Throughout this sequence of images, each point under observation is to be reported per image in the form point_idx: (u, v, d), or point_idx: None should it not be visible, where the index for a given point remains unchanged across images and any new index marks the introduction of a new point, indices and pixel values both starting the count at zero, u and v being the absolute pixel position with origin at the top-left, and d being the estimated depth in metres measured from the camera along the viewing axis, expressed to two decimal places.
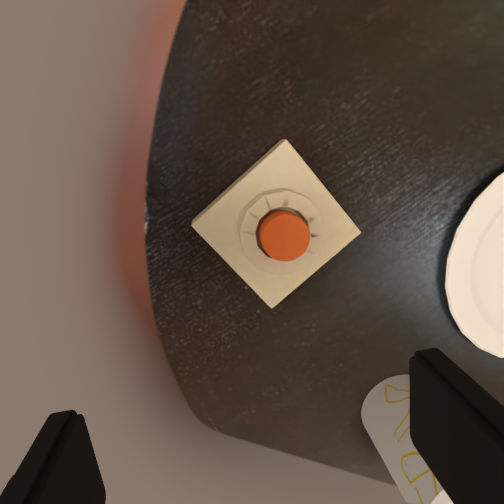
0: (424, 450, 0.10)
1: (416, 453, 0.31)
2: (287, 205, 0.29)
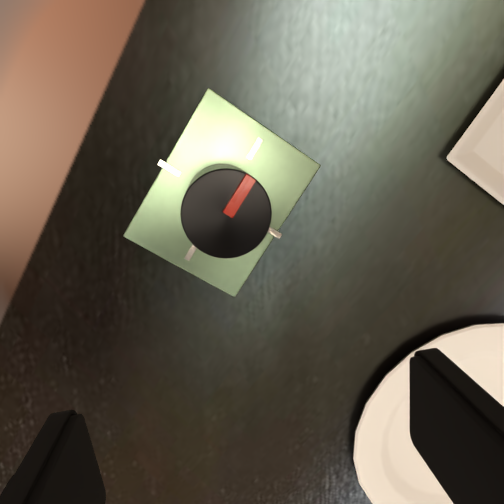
0: (424, 450, 0.10)
1: None
2: None
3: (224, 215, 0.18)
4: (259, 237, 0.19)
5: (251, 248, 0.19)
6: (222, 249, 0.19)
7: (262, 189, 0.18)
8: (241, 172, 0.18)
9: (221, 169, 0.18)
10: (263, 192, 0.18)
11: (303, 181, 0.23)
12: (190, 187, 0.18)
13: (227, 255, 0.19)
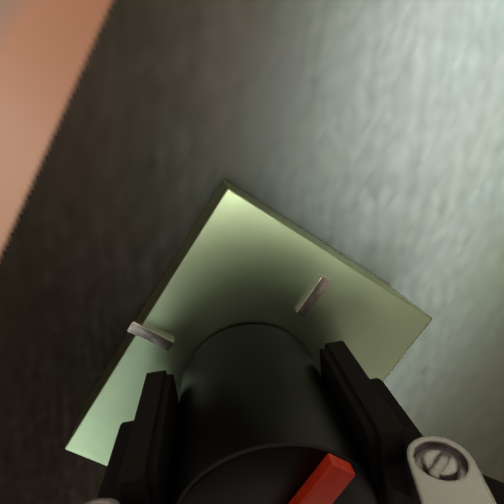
0: None
1: None
2: None
3: None
4: None
5: None
6: None
7: (364, 480, 0.07)
8: (317, 449, 0.07)
9: (268, 445, 0.07)
10: (366, 485, 0.08)
11: (398, 346, 0.13)
12: (189, 488, 0.07)
13: None
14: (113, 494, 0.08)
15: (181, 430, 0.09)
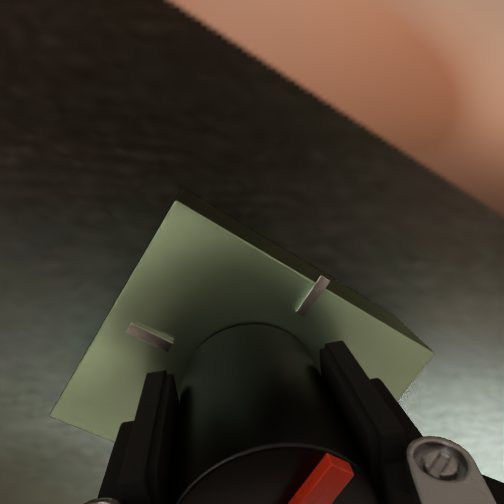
0: None
1: None
2: None
3: None
4: None
5: None
6: None
7: (363, 479, 0.07)
8: (315, 450, 0.07)
9: (266, 446, 0.07)
10: (365, 484, 0.07)
11: None
12: (188, 490, 0.07)
13: None
14: (113, 494, 0.08)
15: (180, 432, 0.09)
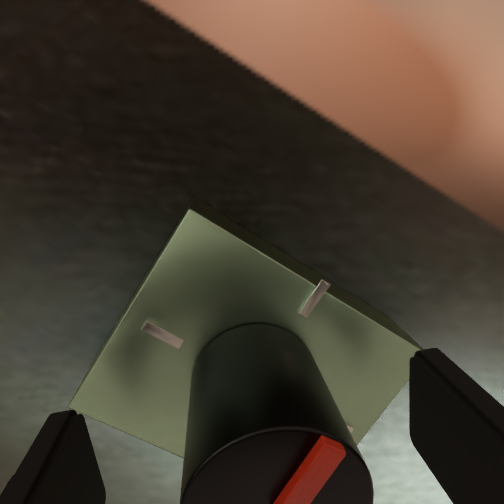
0: (424, 450, 0.10)
1: None
2: None
3: None
4: None
5: None
6: None
7: (356, 459, 0.08)
8: (311, 432, 0.08)
9: (267, 429, 0.08)
10: (358, 464, 0.08)
11: None
12: (199, 470, 0.08)
13: None
14: None
15: (191, 422, 0.10)
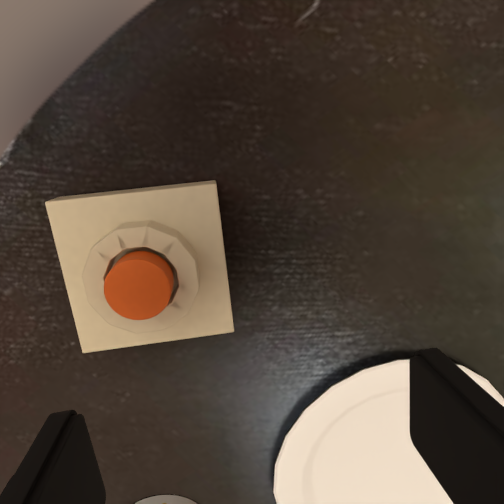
0: (424, 450, 0.10)
1: None
2: (166, 254, 0.22)
3: None
4: None
5: None
6: None
7: None
8: None
9: None
10: None
11: None
12: None
13: None
14: None
15: None
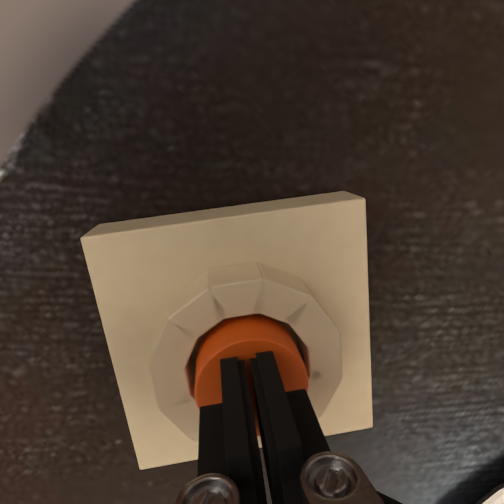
0: (262, 445, 0.11)
1: None
2: (294, 325, 0.13)
3: None
4: None
5: None
6: None
7: None
8: None
9: None
10: None
11: None
12: None
13: None
14: (212, 472, 0.08)
15: None
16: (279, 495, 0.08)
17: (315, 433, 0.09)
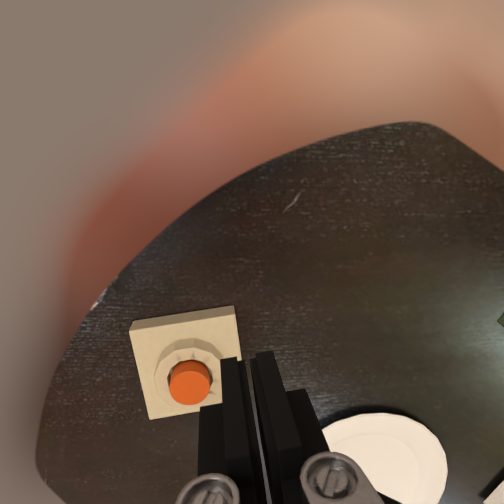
0: (262, 445, 0.11)
1: None
2: (205, 363, 0.35)
3: None
4: None
5: None
6: None
7: None
8: None
9: None
10: None
11: None
12: None
13: None
14: (212, 472, 0.08)
15: None
16: (279, 495, 0.08)
17: (315, 433, 0.09)
